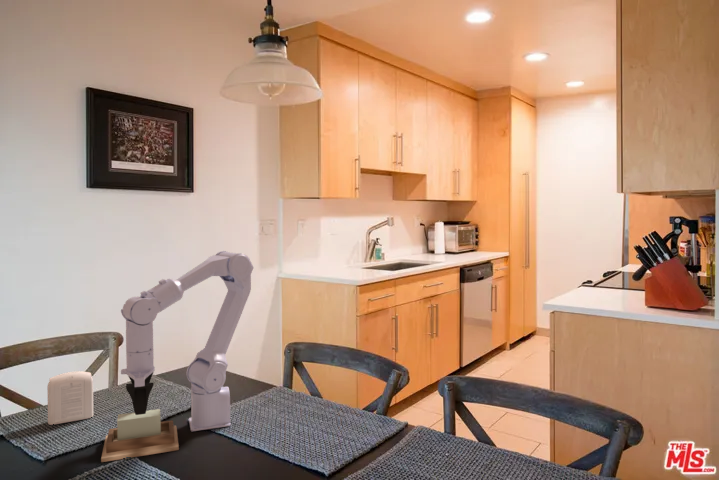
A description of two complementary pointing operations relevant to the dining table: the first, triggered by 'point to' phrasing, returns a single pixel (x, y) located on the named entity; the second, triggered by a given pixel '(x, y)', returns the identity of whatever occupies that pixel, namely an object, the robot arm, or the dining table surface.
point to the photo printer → (70, 397)
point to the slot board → (140, 444)
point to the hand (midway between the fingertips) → (140, 407)
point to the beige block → (138, 425)
